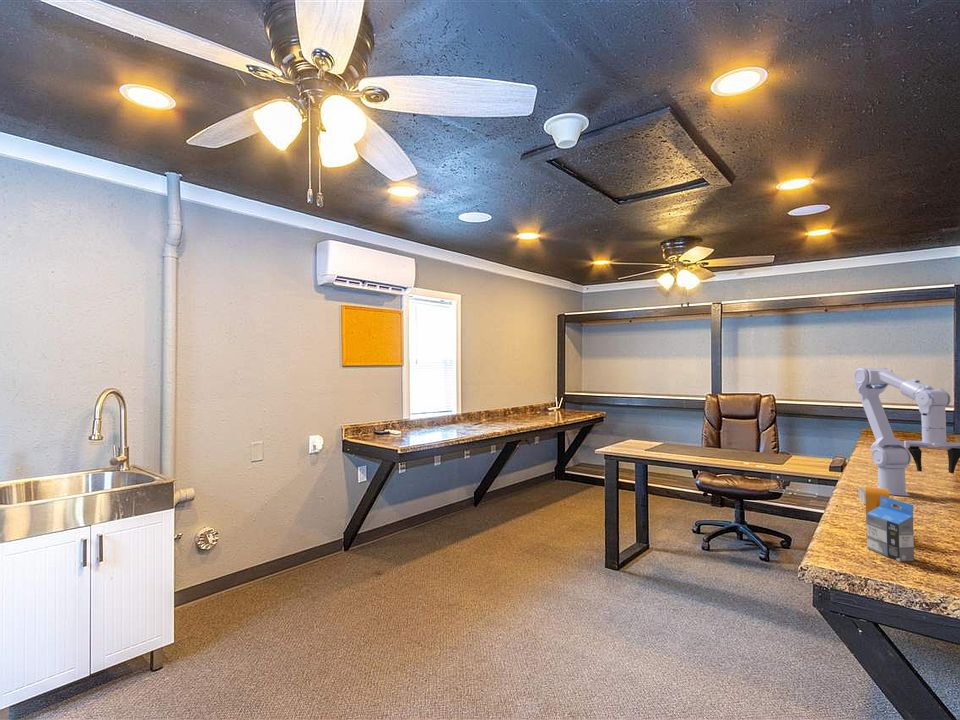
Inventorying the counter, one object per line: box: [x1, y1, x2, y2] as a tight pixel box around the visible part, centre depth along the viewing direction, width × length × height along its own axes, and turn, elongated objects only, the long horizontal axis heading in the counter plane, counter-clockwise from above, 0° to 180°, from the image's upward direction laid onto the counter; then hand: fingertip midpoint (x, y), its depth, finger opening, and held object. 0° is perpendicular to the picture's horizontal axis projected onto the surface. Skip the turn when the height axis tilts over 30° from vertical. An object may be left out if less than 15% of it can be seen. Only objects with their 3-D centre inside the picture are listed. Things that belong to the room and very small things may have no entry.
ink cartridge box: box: [865, 496, 915, 563], centre depth 117 cm, size 9×4×12 cm, turn 4°
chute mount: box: [858, 487, 894, 507], centre depth 164 cm, size 10×7×4 cm
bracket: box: [865, 486, 890, 534], centre depth 130 cm, size 11×7×12 cm, turn 142°
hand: (935, 471), depth 160 cm, fingers open, 7 cm apart
